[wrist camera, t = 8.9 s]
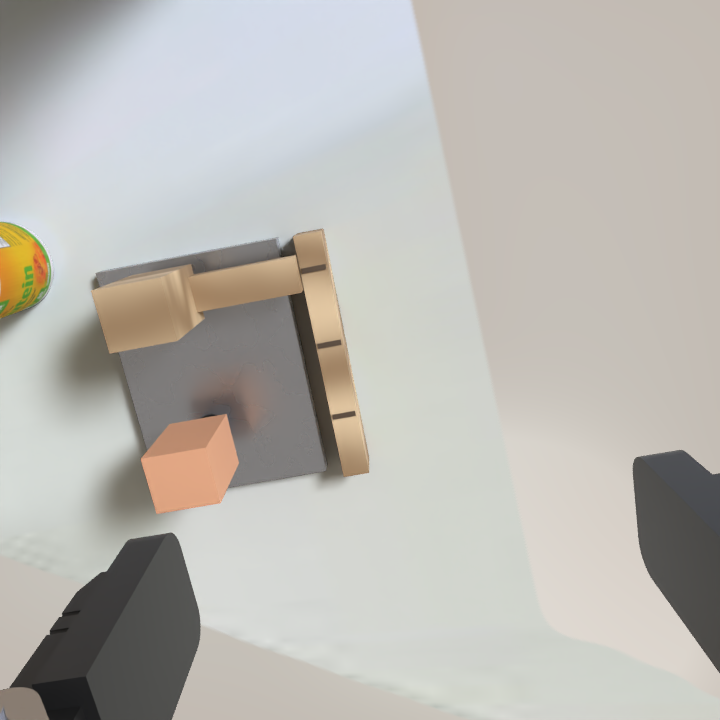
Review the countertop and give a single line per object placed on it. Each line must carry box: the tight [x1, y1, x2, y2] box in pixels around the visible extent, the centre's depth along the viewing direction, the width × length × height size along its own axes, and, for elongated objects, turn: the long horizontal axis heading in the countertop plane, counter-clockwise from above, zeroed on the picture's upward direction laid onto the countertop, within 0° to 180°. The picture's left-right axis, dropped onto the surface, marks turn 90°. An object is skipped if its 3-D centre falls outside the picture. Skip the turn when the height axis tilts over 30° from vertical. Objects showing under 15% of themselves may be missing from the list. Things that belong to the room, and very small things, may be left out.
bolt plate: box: [96, 237, 327, 488], centre depth 41 cm, size 15×11×1 cm
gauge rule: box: [91, 229, 369, 477], centre depth 38 cm, size 15×11×8 cm
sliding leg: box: [141, 414, 239, 514], centre depth 38 cm, size 3×4×7 cm
